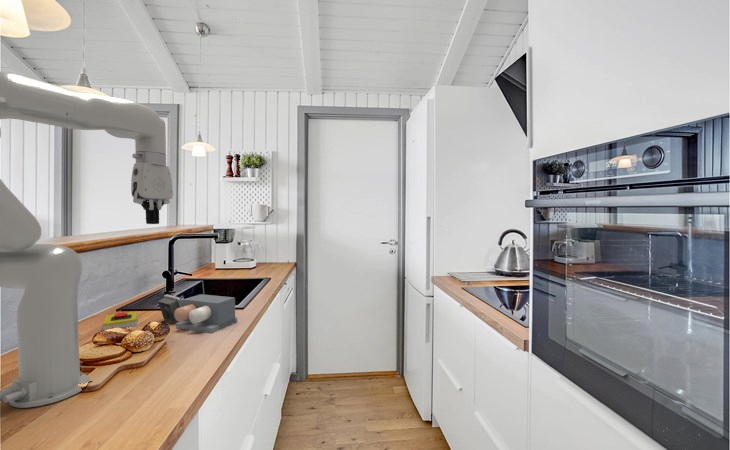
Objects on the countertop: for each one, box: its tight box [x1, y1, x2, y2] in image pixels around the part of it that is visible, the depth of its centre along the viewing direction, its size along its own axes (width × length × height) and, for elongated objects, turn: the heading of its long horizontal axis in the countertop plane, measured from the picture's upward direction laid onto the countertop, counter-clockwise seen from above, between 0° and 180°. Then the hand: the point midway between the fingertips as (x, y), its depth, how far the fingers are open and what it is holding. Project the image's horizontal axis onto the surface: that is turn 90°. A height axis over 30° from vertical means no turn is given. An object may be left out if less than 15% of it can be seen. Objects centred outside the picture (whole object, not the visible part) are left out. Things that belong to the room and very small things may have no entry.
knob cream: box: [189, 306, 212, 324], centre depth 114 cm, size 12×4×4 cm, turn 161°
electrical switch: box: [157, 294, 183, 325], centre depth 121 cm, size 9×5×9 cm, turn 57°
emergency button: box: [102, 311, 139, 331], centre depth 118 cm, size 9×4×15 cm
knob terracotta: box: [174, 304, 197, 322], centre depth 116 cm, size 12×4×4 cm, turn 161°
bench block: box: [175, 293, 238, 334], centre depth 117 cm, size 12×15×9 cm
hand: (152, 223), depth 100 cm, fingers closed
